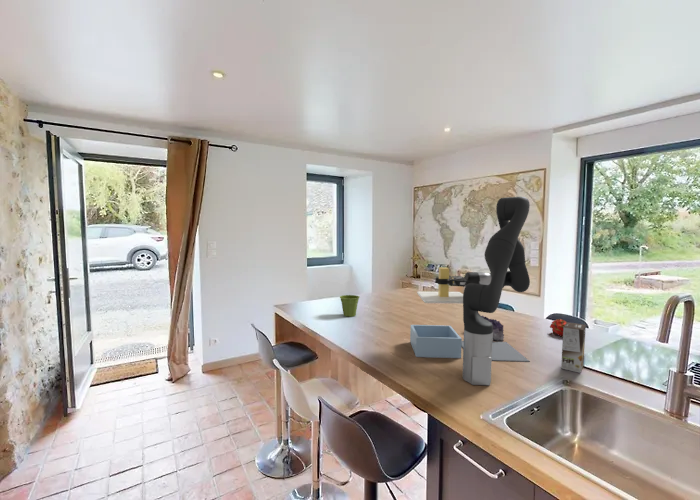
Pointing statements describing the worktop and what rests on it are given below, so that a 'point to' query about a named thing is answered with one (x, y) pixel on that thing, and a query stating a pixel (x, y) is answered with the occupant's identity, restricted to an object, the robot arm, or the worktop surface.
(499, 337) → the geode
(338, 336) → the worktop surface
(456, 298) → the lid
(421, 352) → the tub
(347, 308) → the plant pot
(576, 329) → the coffee box
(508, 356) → the mat
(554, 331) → the dragon fruit
